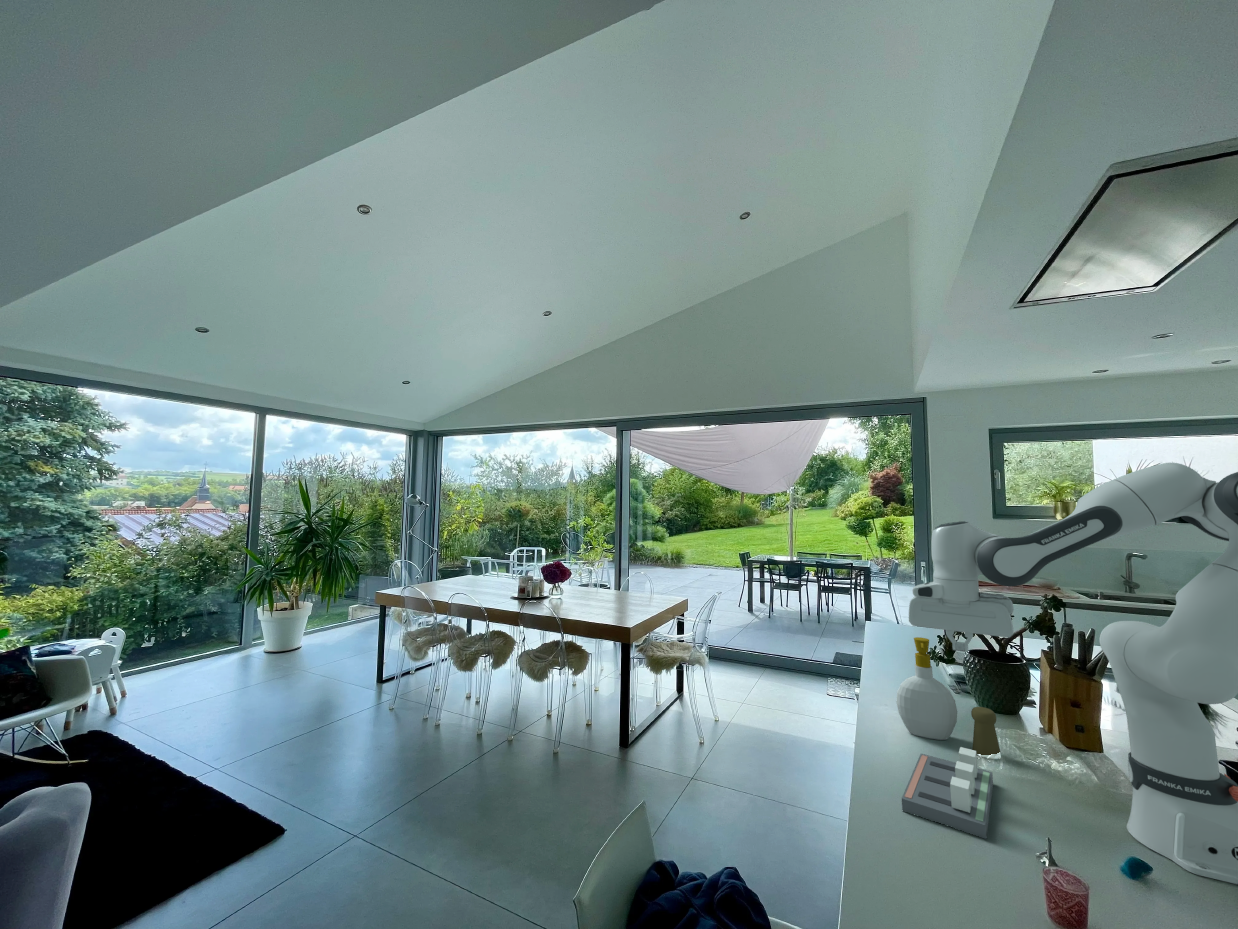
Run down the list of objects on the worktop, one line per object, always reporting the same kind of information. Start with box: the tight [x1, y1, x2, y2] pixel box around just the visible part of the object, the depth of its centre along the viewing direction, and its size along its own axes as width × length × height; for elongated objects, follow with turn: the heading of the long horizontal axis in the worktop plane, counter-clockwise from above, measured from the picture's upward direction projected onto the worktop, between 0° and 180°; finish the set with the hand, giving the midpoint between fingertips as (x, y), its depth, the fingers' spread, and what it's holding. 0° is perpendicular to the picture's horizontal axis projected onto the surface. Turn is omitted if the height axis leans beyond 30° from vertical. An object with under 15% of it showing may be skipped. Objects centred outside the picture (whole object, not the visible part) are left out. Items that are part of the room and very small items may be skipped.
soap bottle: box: [895, 636, 958, 741], centre depth 136 cm, size 14×9×26 cm, turn 60°
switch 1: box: [958, 746, 979, 778], centre depth 111 cm, size 3×4×4 cm
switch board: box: [901, 753, 994, 840], centre depth 106 cm, size 14×24×3 cm, turn 140°
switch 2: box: [950, 776, 972, 813], centre depth 99 cm, size 3×4×4 cm
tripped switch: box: [955, 760, 975, 794], centre depth 105 cm, size 3×4×4 cm
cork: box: [970, 706, 1001, 755], centre depth 125 cm, size 6×6×11 cm
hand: (960, 650), depth 115 cm, fingers closed
